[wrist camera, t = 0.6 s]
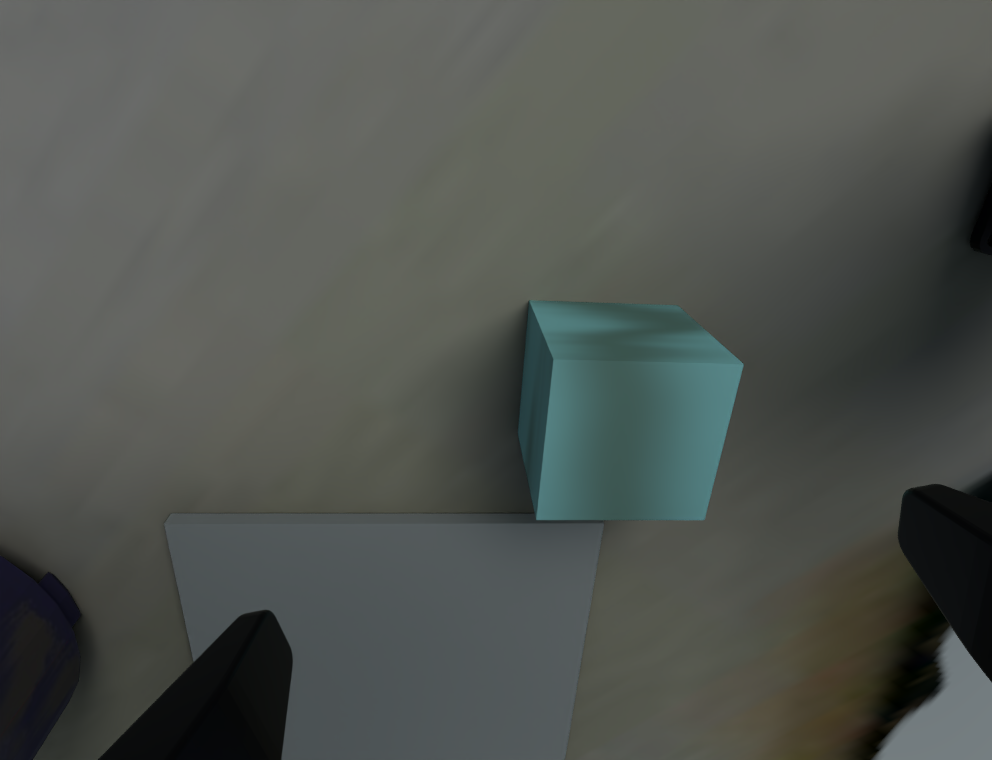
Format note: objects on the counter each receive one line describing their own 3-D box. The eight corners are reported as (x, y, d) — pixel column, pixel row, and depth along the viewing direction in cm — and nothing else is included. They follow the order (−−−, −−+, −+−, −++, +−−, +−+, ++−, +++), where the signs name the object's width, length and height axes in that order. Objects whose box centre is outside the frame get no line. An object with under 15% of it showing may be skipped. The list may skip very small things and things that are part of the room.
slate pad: (600, 513, 23) (604, 523, 23) (558, 773, 30) (560, 785, 29) (170, 513, 22) (164, 523, 21) (227, 786, 29) (223, 800, 28)
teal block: (676, 304, 20) (743, 364, 16) (651, 434, 22) (704, 520, 18) (528, 299, 20) (553, 359, 15) (517, 432, 22) (536, 520, 17)
